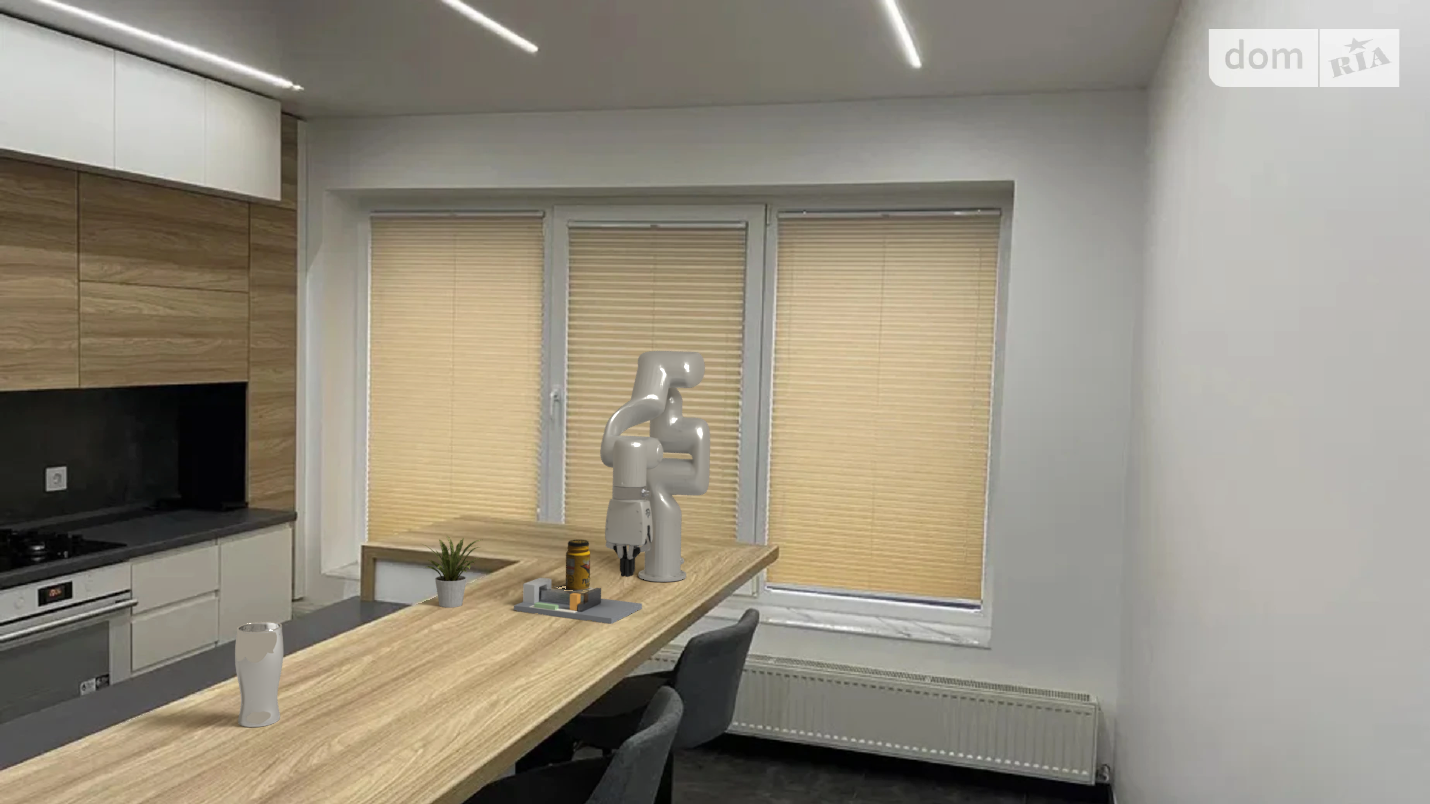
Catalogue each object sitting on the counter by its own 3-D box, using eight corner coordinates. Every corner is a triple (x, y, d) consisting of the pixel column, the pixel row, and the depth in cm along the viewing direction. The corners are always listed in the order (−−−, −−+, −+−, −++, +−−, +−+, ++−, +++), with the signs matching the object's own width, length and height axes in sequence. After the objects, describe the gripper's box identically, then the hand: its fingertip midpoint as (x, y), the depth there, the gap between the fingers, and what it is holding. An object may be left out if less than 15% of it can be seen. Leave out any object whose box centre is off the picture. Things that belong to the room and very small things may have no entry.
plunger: (544, 596, 244) (544, 581, 244) (600, 603, 238) (601, 588, 238) (524, 603, 236) (524, 588, 236) (582, 611, 230) (582, 596, 230)
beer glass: (244, 713, 166) (244, 620, 165) (289, 712, 167) (289, 620, 166) (227, 728, 159) (227, 632, 158) (274, 728, 160) (274, 632, 159)
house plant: (500, 602, 242) (501, 533, 241) (462, 615, 230) (463, 542, 229) (451, 595, 248) (452, 527, 247) (411, 607, 236) (412, 536, 235)
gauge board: (548, 596, 249) (548, 574, 248) (641, 608, 239) (642, 585, 239) (513, 610, 235) (514, 587, 234) (611, 623, 225) (611, 599, 225)
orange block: (573, 608, 233) (573, 592, 233) (580, 609, 232) (580, 593, 232) (569, 609, 231) (570, 594, 231) (576, 610, 231) (577, 595, 231)
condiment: (596, 589, 257) (596, 542, 257) (564, 593, 253) (565, 545, 252) (582, 584, 263) (583, 537, 263) (552, 587, 259) (553, 540, 258)
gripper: (666, 494, 231) (664, 576, 232) (607, 490, 237) (605, 570, 237) (652, 497, 224) (649, 582, 225) (591, 493, 230) (589, 575, 230)
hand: (627, 575), depth 231 cm, fingers closed
